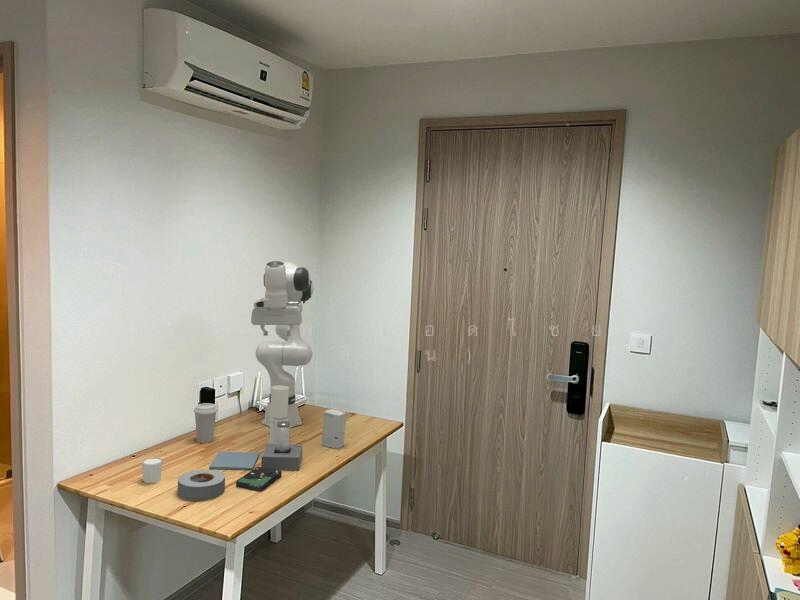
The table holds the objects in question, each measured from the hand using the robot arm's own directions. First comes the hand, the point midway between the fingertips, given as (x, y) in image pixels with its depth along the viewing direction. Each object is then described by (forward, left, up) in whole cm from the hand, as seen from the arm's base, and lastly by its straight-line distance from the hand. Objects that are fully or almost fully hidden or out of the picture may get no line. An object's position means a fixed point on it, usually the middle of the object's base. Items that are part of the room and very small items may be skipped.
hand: (277, 335), depth 243 cm
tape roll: (+44, -18, -48) cm, 67 cm away
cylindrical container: (-2, +2, -47) cm, 48 cm away
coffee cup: (-6, -29, -47) cm, 56 cm away
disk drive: (+35, 0, -48) cm, 59 cm away
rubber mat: (+17, -12, -47) cm, 52 cm away
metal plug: (+17, +6, -47) cm, 50 cm away
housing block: (+17, +6, -47) cm, 50 cm away
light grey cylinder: (+36, -37, -48) cm, 70 cm away
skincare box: (-4, +25, -47) cm, 54 cm away
